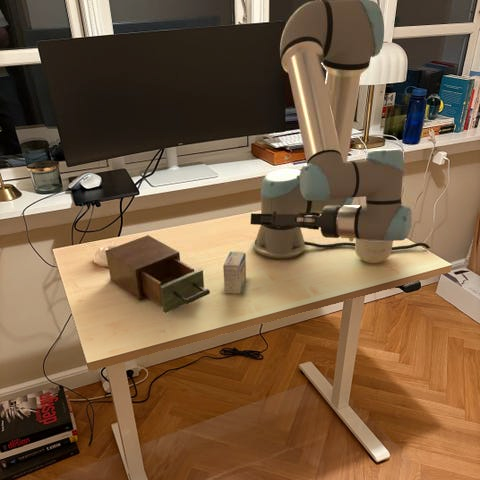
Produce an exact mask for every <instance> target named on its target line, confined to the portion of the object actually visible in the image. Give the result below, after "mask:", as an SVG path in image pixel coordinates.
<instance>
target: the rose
mask: <svg viewBox="0 0 480 480" xmlns="http://www.w3.org/2000/svg"><path fill="white" fill-rule="evenodd" d="M114 247H117V246H115V245H102V246H100V247H99V248H98V249H97V250H96V251H95V253H94V259H93V262H94V264H96V265H98V266H100V267H104V268H105V267H106V268H108V263H107V258H106V252H105V251H106V250H108V249H111V248H114Z"/></svg>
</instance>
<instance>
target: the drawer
mask: <svg viewBox="0 0 480 480" xmlns="http://www.w3.org/2000/svg"><path fill="white" fill-rule="evenodd" d="M139 277H140V283H141V290H142V294H144V295H145V296H146V297H148V298H147V299H149V300H151V301H152V302H154V303H155V304H156V305H158V306H160V307H161V309H162V313H164V314H168V313H170V312H172V311H174V310H176V309H178V308H180V307H182V306H184V305H189V304H192V303H194V302H196V301H198V300H200V299H202V298H204V297H207V296H208V295H210V294H211V290H210V289H209V288H205V283H204V281H205V279H204V269H202V268H198V269H196V270H195V268H194V267H192V266H190V265H188V264H187V263H185V262H184V261H182V260H181V259H180V260H178V259H176V258H175V257H174V258H171V259H169V260H167V261H164V262H162V263H159V264H157V265H154V266H152V267H149V268H147V269H144V270H142V271H139Z"/></svg>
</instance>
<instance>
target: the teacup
mask: <svg viewBox="0 0 480 480" xmlns="http://www.w3.org/2000/svg"><path fill="white" fill-rule="evenodd" d="M354 243H355V246H354V251H355V254H356V256H357V258H359V259H360V260H362V262H364V263H367V264H378V263H382V262H383V261H385V260H387V259H388V258H389V257H390V256H391V254H392V251H393V250H392V247H393V243H394V241H384V240H369V239H355V242H354Z"/></svg>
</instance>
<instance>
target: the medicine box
mask: <svg viewBox="0 0 480 480" xmlns="http://www.w3.org/2000/svg"><path fill="white" fill-rule="evenodd" d="M246 256H247V255H246V252H244V251H229V253H228V255H227V257H226V259H225V261H224V264H222V265H223V267H222V268H223V284H224V285H223V287H224V288H223V290H224V293H225V294H233V295H234V294H236V295H241V293H242V291H243V288H244V286H245V283H246V280H247V266H246V265H247V263H246V261H247V260H246V259H247V258H246Z"/></svg>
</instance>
